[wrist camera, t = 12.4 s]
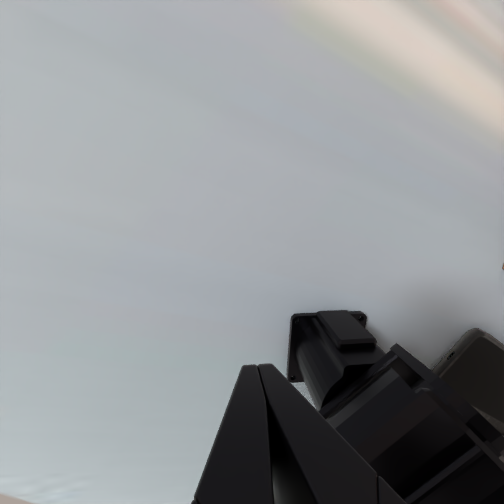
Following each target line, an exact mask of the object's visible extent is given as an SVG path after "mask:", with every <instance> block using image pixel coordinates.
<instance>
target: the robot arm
mask: <svg viewBox="0 0 504 504" xmlns="http://www.w3.org/2000/svg"><path fill="white" fill-rule="evenodd" d="M360 316H361V318H360V319H358V318H359V317H360ZM296 319H299V321H297V322H295V320H296ZM366 319H367V317H366V315H365V314H364V313H363V312H361V311H351V312H348V311H346V310H339V311H319V312H317V313H300V314H294V315H293V316H292V317H291V321H290V334H289V348H288V361H287V379H288V380H287V379H286V378H285V377H284V376H283V375H282V373H281V372H280V371H279V370H278V369H277V368H276V367H275V366H274V365H273V364H270V363H269V364H259V365H258V366H257V365H255V364H253V365H243V366H242V368H241V370H240V373H239V376H238V379H237V381H236V384H235V387H234V389H233V392H232V395H231V397H230V400H229V403H228V406H227V408H226V411H225V414H224V416H223V419H222V422H221V425H220V427H219V430H218V433H217V435H216V438H215V441H214V444H213V446H212V449H211V452H210V454H209V457H208V460H207V462H206V465H205V468H204V471H203V473H202V476H201V479H200V481H199V484H198V487H197V490H196V492H195V495H194V500H193V501H192V502H191V504H504V436H503V435H502V434H501V433H500V432H499V431H498V430H497V429H496V428H495V427H494V426H493V425H492V424H491V423H489V422H488V421H487V420H486V419H485V418H484V417H483V416H482V415H481V414H480V413H479V412H478V411H477V410H476V409H475V408H474V407H473V406H471V405H470V404H469V403H468V402H467V401H466V400H465V399H464V398H463V397H462V396H460V395H459V394H458V393H457V392H456V391H455V390H454V389H453V388H451V387H450V386H449V385H448V384H447V383H446V382H444V381H443V380H442V379H441V378H440V377H438V376H437V375H436V374H435V373H433V372H432V371H431V370H430V369H428V368H427V367H426V366H425V365H423V364H422V363H421V362H420V361H418V360H417V359H416V358H415V357H413V356H412V355H411V354H410V353H408V352H407V351H406V350H405V349H403V348H402V347H401V346H400V345H398V344H397V343H396V344H395V345H394V346H392V347H391V348H390V349H391V350H390V351H389V352H388V353H387V354H385V353H384V352H383V351H382V350H381V349H380V347H379V346H378V345H377V344H376V343H377V340H376V339H375V338H374V337H373V336H372V335H371V334H370V333H369V332H368V331H367V330H366V329H365V325H366ZM293 375H294V376H293ZM291 376H293V377H291ZM290 382H291V383H295V382H305V384H306V386H307V388H308V391H309V393H310V395H311V398H312V400H313V402H314V405H315V407H316V409H317V410H316V409H315V408H314V407H313V406H312V405H311V404H310V403H309V402H308V401H307V399H306V398H305V397H304V396H303V395H302V394H301V393H300V392H299V391H298V390H297V389H296V388H295V387H294V386H293V385H292V384H291V383H290Z"/></svg>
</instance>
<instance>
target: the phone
mask: <svg viewBox="0 0 504 504" xmlns="http://www.w3.org/2000/svg"><path fill="white" fill-rule="evenodd" d="M463 340H464V341H463ZM453 351H454V352H455V354H454V355H453V356H452V357H451V358H450V359H449V360H448V359H447V358H448V356H449V355H450V354H451V353H452V352H453ZM432 372H433V373H435V374H436V375H437V376H438V377H440V378H441V379H442V380H443V381H444V382H446V383H447V384H448V385H449V386H450V387H451V388H453V389H454V390H455V391H456V392H457V393H458V394H459V395H460V396H462V397H463V398H464V399H465V400H466V401H467V402H468V403H469V404H470V405H471V406H473V407H474V408H475V409H476V410H477V411H478V412H479V413H480V414H481V415H482V416H483V417H484V418H485V419H486V420H487V421H488V422H489V423H491V424H492V425H493V426H494V427H495V428H496V429H497V430H498V431H499V432H500V433H501V434H502V435H503V436H504V345H503V344H502V343H501V342H499V341H498V340H497V339H495V338H494V337H493V336H491V335H490V334H488V333H486V332H484V331H483V330H481V329H479V328H474V329H471V330H469V331H468V332H466V333H465V334H464V335H463V337H462V338H461V339H460V340H459V341H458V342H457V343H456V344H455V346H454V347H453V348H452V349H451V350H450V351H449V352H448V353H447V355H446V356H445V357H444V358H443V359H442V360H441V361H440V362H439V364H438V365H437V366H436V367H435V368H434V369H433V370H432Z"/></svg>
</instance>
